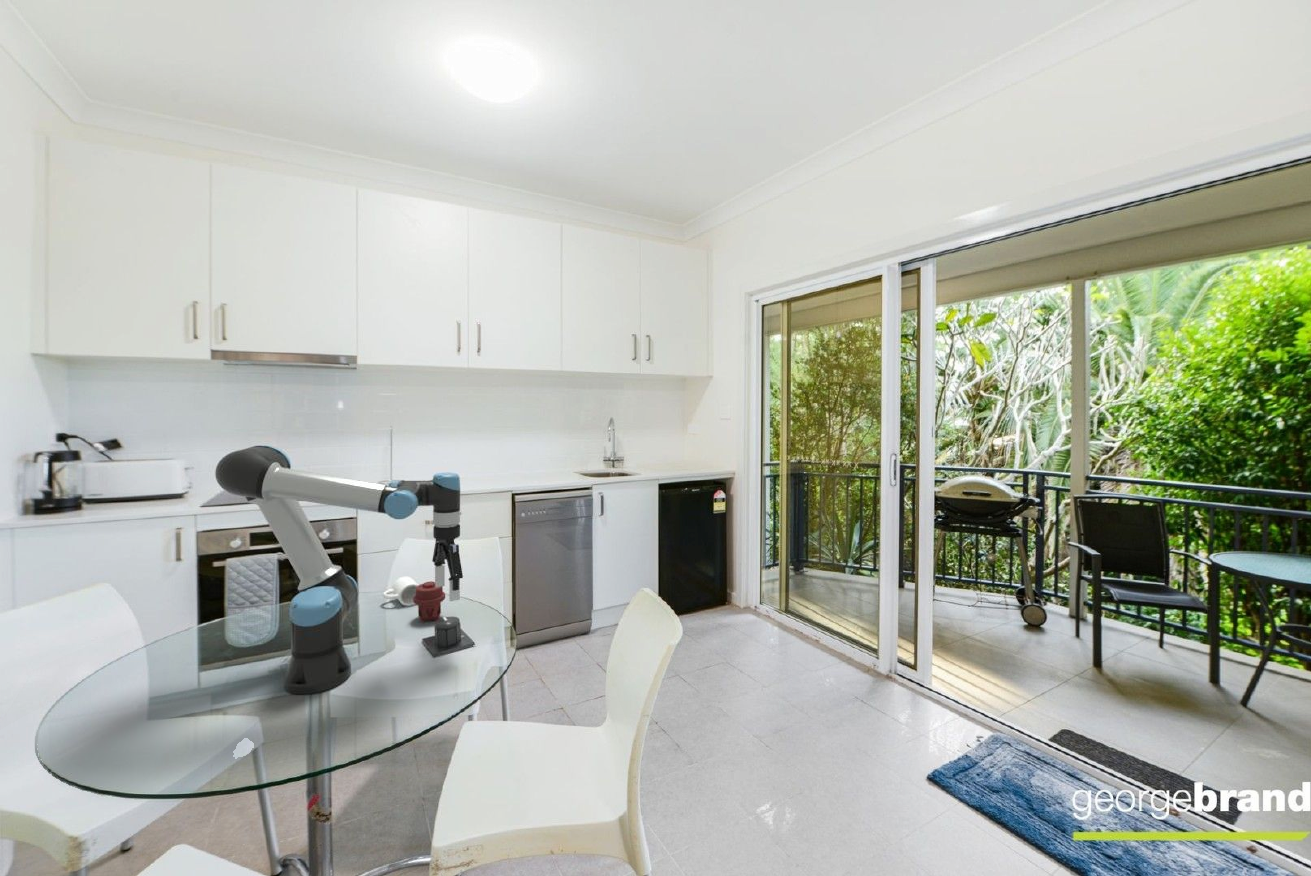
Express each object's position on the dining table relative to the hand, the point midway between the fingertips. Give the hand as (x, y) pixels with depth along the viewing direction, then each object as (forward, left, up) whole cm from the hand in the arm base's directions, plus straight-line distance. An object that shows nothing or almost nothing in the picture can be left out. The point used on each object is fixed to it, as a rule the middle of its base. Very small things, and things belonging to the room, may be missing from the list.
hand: (447, 593), depth 164 cm
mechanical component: (+1, +22, -16) cm, 27 cm away
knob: (0, 0, -15) cm, 15 cm away
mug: (-3, +42, -16) cm, 45 cm away
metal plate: (0, 0, -16) cm, 16 cm away
